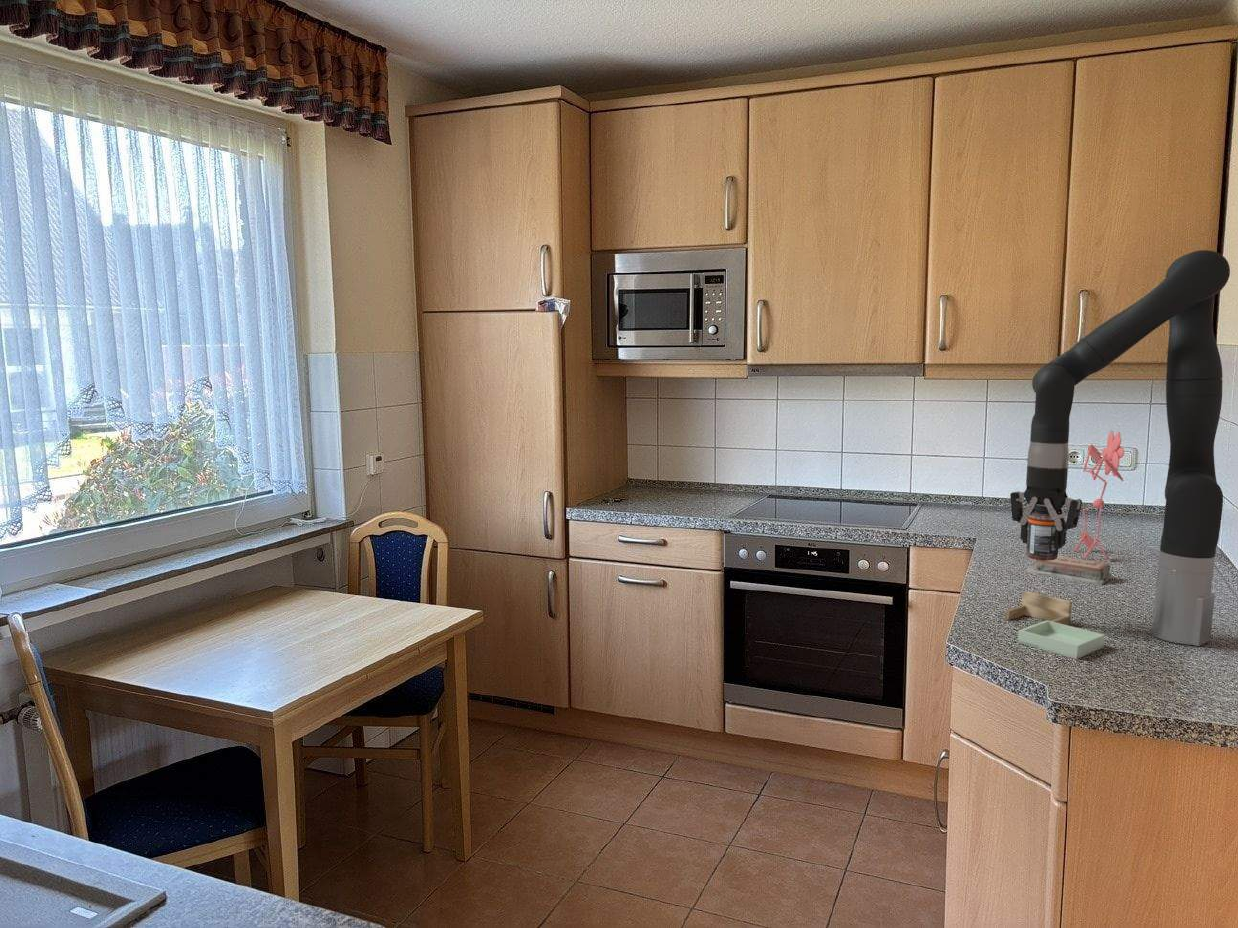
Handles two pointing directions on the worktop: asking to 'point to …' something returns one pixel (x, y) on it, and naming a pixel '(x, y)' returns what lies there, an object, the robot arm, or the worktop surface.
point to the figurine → (1111, 464)
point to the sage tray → (1061, 639)
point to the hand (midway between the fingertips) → (1042, 545)
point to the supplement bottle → (1041, 535)
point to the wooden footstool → (1042, 608)
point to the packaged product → (1073, 569)
